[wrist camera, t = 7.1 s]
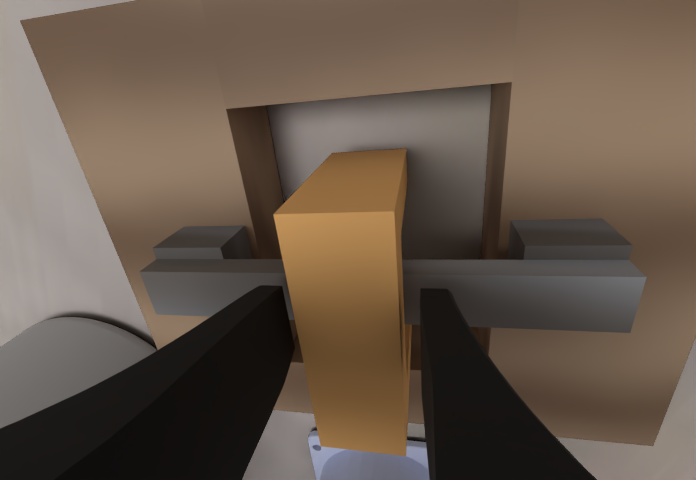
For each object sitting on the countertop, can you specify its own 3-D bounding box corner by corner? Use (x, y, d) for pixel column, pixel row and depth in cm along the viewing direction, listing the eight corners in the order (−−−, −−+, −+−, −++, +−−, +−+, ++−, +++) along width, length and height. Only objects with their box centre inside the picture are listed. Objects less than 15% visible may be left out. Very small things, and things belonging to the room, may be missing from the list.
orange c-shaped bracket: (411, 327, 15) (405, 456, 10) (352, 325, 16) (320, 446, 11) (406, 148, 12) (394, 211, 7) (332, 153, 12) (273, 214, 8)
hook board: (615, 382, 16) (698, 521, 11) (210, 356, 20) (143, 449, 15) (748, -75, 9) (1103, -224, 4) (99, 28, 13) (-83, 10, 9)
